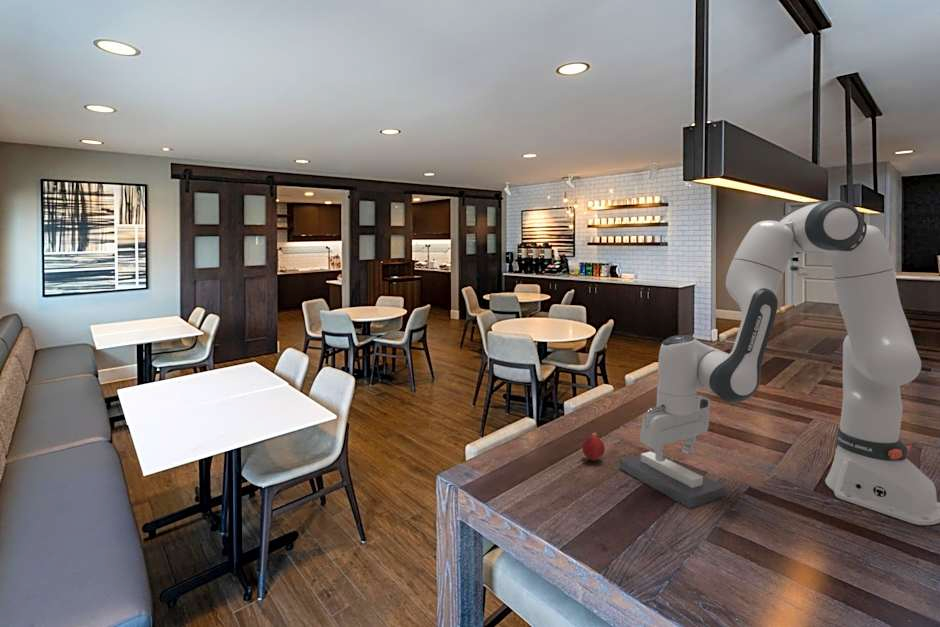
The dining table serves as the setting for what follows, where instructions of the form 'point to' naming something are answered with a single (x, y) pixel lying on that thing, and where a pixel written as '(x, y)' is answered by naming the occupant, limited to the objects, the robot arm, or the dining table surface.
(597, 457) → the onion
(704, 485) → the plate
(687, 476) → the strip
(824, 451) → the dining table surface
